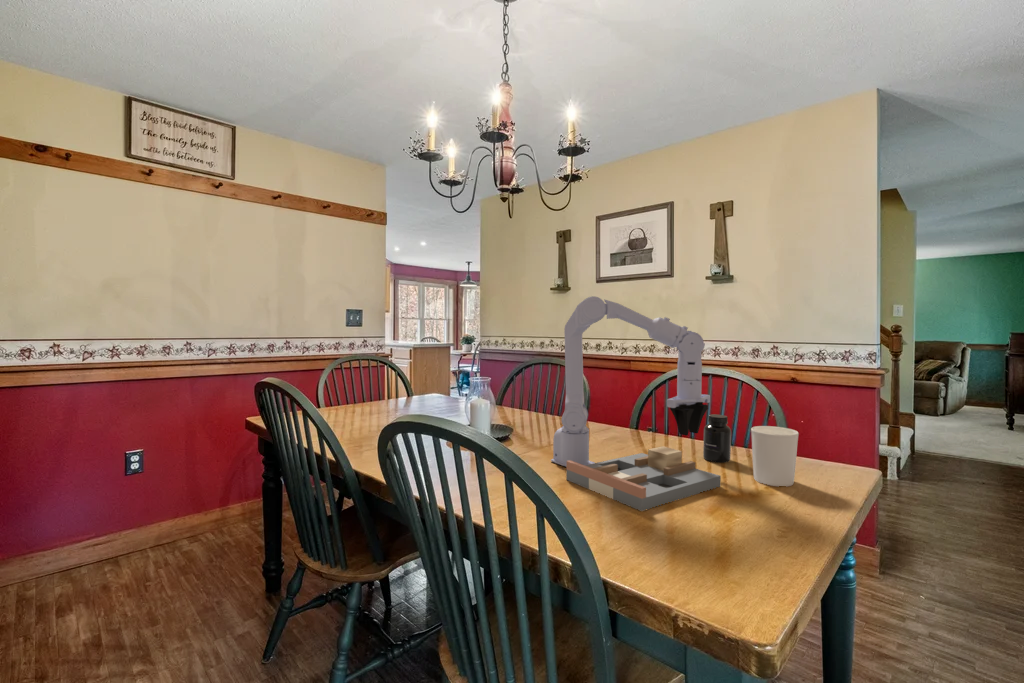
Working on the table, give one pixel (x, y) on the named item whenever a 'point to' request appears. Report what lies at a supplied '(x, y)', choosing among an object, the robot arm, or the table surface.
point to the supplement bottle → (717, 439)
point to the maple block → (663, 457)
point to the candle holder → (774, 455)
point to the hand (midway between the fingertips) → (688, 433)
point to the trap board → (641, 480)
